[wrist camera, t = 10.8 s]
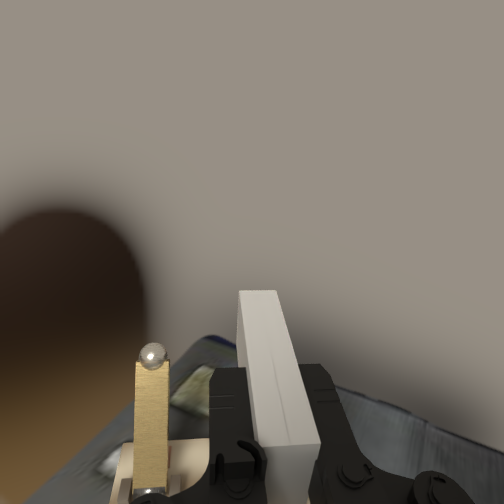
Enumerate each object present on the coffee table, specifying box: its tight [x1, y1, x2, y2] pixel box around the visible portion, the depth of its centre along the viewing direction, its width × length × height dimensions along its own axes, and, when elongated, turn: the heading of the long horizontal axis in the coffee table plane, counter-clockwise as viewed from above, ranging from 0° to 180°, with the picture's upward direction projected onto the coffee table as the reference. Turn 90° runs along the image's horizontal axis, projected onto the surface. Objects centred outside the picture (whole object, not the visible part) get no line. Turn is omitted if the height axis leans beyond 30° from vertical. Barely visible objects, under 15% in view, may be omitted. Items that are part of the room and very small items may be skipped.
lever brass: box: [132, 343, 170, 500], centre depth 35 cm, size 3×3×15 cm
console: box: [109, 438, 310, 504], centre depth 36 cm, size 12×22×4 cm, turn 96°
